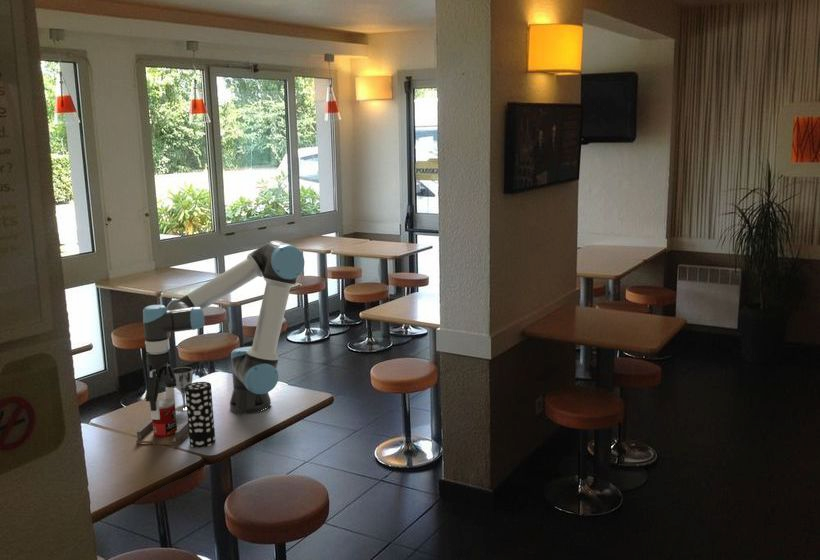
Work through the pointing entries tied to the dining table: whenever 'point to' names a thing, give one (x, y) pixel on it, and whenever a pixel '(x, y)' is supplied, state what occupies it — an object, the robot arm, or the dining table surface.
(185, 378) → the wine glass
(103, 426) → the dining table surface
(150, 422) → the holder
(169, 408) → the canned food
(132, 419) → the dining table surface
